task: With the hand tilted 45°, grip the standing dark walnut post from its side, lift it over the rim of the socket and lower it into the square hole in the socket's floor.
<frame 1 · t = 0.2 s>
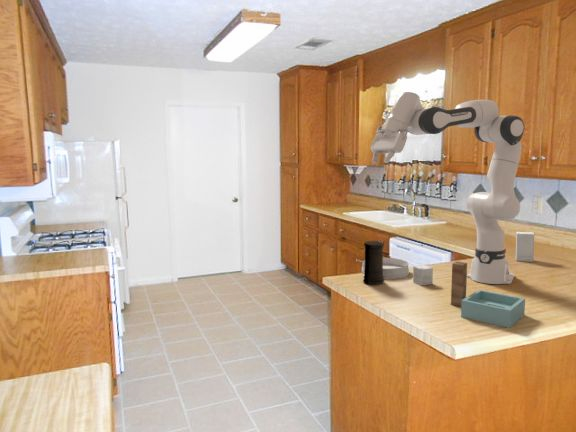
hand: (379, 162, 178), 54 cm above the worktop, tool tilted 25°, fingers open, 8 cm apart
skincare box 2: (523, 260, 237), on the worktop
peg: (458, 304, 172), on the worktop
container: (373, 282, 202), on the worktop
dish: (384, 273, 219), on the worktop
skincare box: (422, 283, 200), on the worktop
socket: (492, 315, 160), on the worktop
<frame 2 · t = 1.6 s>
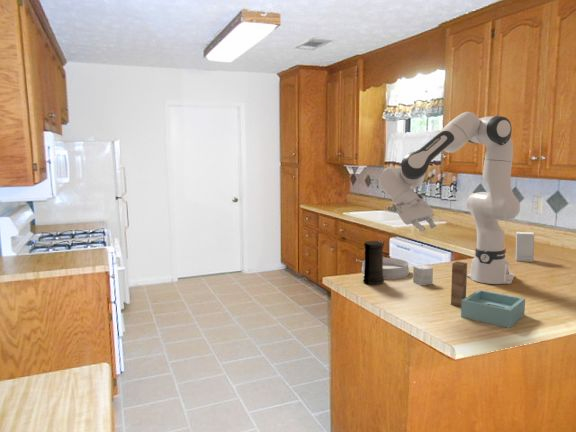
hand: (428, 229, 177), 28 cm above the worktop, tool tilted 45°, fingers open, 8 cm apart
nothing on the worktop moved.
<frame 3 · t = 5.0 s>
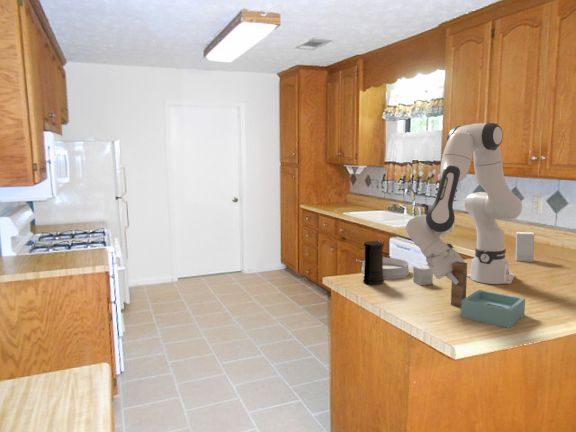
hand: (460, 281, 171), 9 cm above the worktop, tool tilted 45°, fingers closed on peg, 4 cm apart
peg: (458, 304, 172), on the worktop, touching gripper
everything else where it was.
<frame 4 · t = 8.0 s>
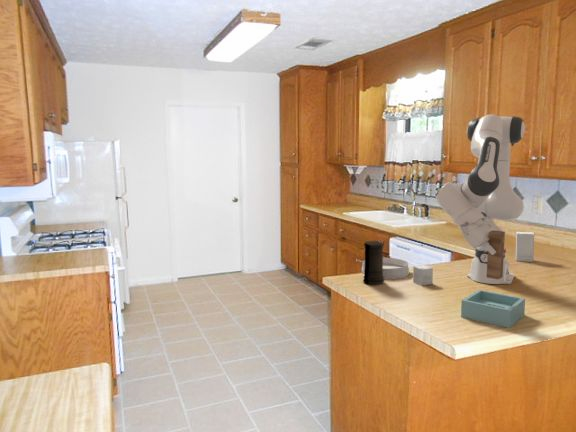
hand: (497, 252, 156), 23 cm above the worktop, tool tilted 45°, fingers closed on peg, 4 cm apart
peg: (494, 277, 158), point 14 cm above the worktop, touching gripper
everything else where it was.
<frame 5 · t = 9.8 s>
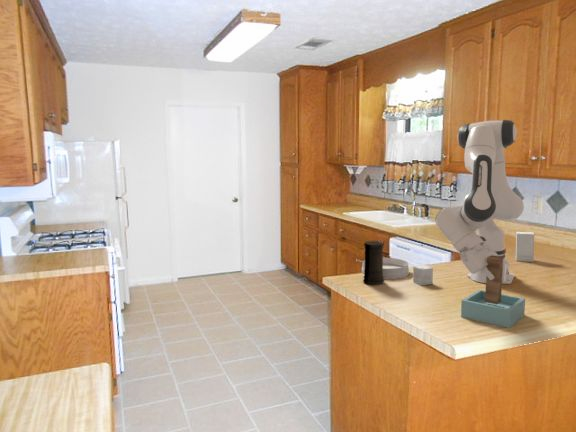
hand: (496, 277, 157), 14 cm above the worktop, tool tilted 45°, fingers closed on peg, 4 cm apart
peg: (493, 301, 159), point 5 cm above the worktop, touching gripper
everything else where it was.
when the fingers open (10 cm above the worktop, at t = 11.3 s): peg stays where it is, resting in socket.
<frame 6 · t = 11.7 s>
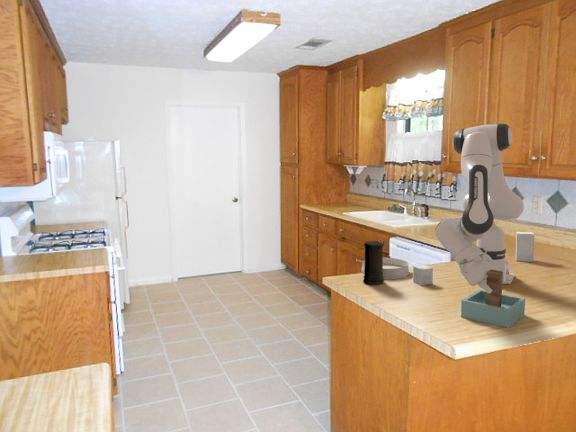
hand: (496, 289, 158), 10 cm above the worktop, tool tilted 45°, fingers open, 8 cm apart
peg: (492, 315, 160), resting in socket
everything else where it was.
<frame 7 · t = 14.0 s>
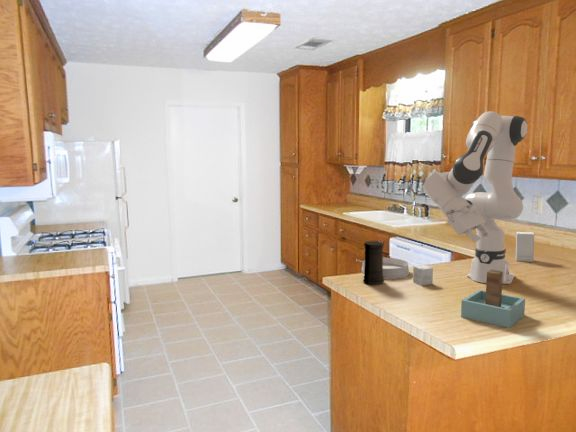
hand: (482, 238, 161), 27 cm above the worktop, tool tilted 45°, fingers open, 8 cm apart
nothing on the worktop moved.
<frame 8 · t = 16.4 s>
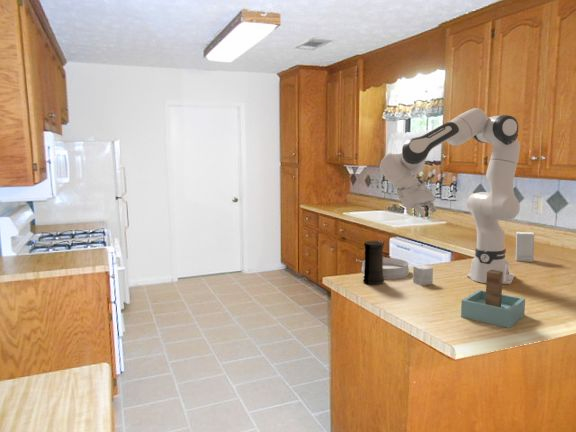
hand: (429, 212, 180), 33 cm above the worktop, tool tilted 45°, fingers open, 8 cm apart
nothing on the worktop moved.
at the end: peg 0.0 cm off-centre on the socket, point 0.0 cm above the socket's base; peg tilted 0°; the gripper is holding nothing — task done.
